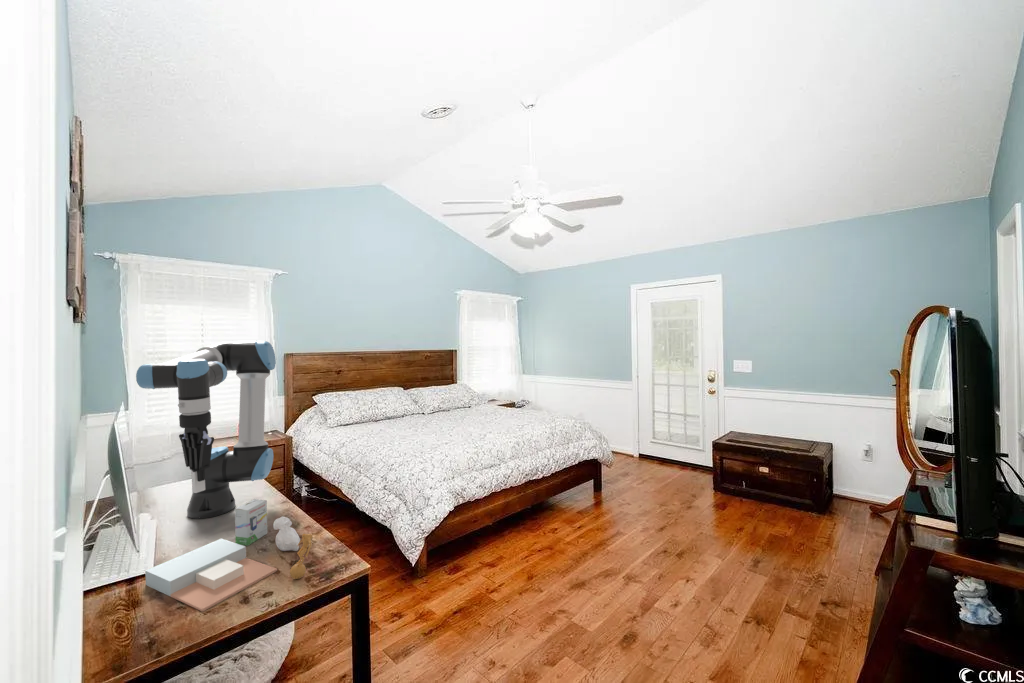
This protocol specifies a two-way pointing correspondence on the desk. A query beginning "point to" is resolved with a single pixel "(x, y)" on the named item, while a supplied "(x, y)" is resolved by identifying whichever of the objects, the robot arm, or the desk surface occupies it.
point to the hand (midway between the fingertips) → (199, 491)
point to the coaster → (219, 574)
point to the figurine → (301, 557)
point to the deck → (191, 565)
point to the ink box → (250, 521)
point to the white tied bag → (286, 535)
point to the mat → (223, 586)
